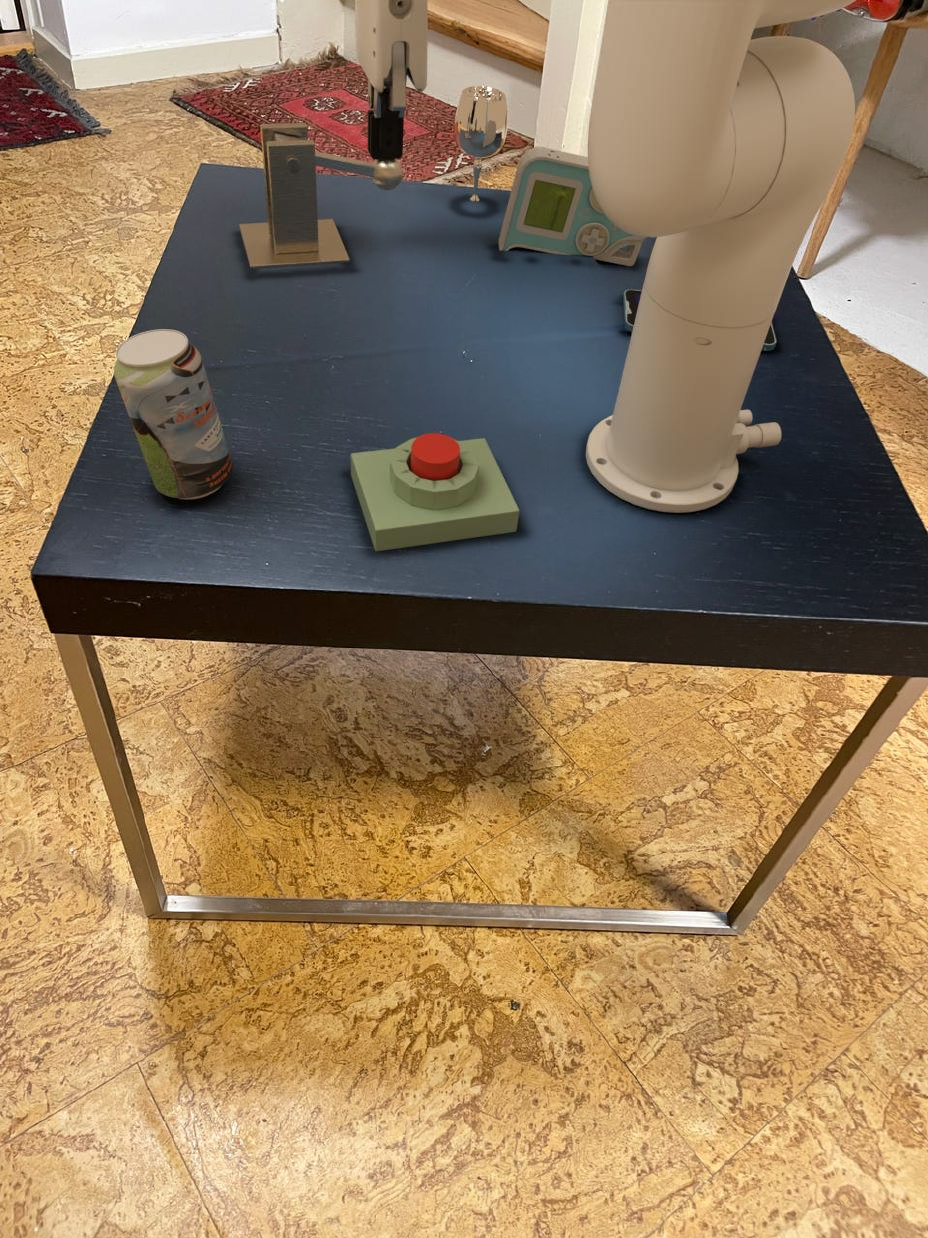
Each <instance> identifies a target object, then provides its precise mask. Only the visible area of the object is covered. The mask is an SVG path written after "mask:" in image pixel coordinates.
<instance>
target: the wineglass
mask: <svg viewBox="0 0 928 1238" xmlns="http://www.w3.org/2000/svg"><path fill="white" fill-rule="evenodd" d="M507 105H508V104H507V97H506V94H505V93H504V92H503V91H502V90H500V89H498V88H496V87H490V86H484V85H475V86H474V85H473V86H468V87H466V88H463V90H462V91H461V94H460V97H459V100H458V104H457V107H456V112H455V117H454V125H453V133H454V140H455V143H456V146H458V148H459V149H460V150H461V152H463V153H464V154H466V155H467V156H469V157H471V158H475V159H474V161H473V164H472V168H473V169H472V170H473V177H474V178H473V188H472V189H473V190H472V195H471V196H470V197H469V200H470V201H472V202H479V201H480V198H479V195H478V188H479V179H480V176H481V172H482V169H483V162H482V160H481V159H487V158H490V157H493V156H494V155H497V154H498V153H499V152H500V151H501V150H502V149H503V147H504V145H505V143H506V139H507V134H508V127H509V121H508V120H509V119H508V117H509V116H508V106H507Z"/></svg>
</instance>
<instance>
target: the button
mask: <svg viewBox="0 0 928 1238" xmlns="http://www.w3.org/2000/svg"><path fill="white" fill-rule="evenodd" d="M417 437H418V438H417ZM417 437H415V438H416V439H415V440H414V441H413V443H412V446H411V469H412V471H413V473H414V474H415V475H416V476H418V477H419V478H422V479H427V480H432V481H439V480H447V479H451V478H452V477H454V476H455V475H456V473H457V472H458V467H459V456H460V447H459V445H458V443H457V442H456V441H455V440H456V439H454V438H453V437H451V436H449V435H447V434H443V433H437V432H436V433H435V432H432V433H431V432H430V433H425V434H422V435H420V436H417Z"/></svg>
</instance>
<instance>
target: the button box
mask: <svg viewBox="0 0 928 1238" xmlns="http://www.w3.org/2000/svg"><path fill="white" fill-rule="evenodd" d="M418 437H419V436H417V437H412V438H409V439H408V440H407V441H405V442H403V443H401V444H399V445H397V446H396V447H395V448H388V449H387V448H386V449H377V450H370V451H369V450H368V451H361V452H352V453H350V476H351V480H352V483H353V486H354V489H355V492H356V495H357V499H358V502H359V504H360V507H361V511H362V515H363V517H364V520H365V523H366V527H367V529H368V532H369V537H370V539H371V542H372V545H373V548H374V551H375V552H382V551H390V550H397V549H404V548H410V547H418V546H424V545H425V546H426V545H432V544H438V543H444V542H445V543H446V542H452V541H459V540H467V539H473V538H481V537H488V536H489V537H490V536H495V535H503V534H509V533H515V532H517V530H518V523H519V518H520V509H519V507H518V504H517V502H516V500H515V498H514V496H513V494H512V492H511V490H510V488H509V485H508V484H507V481H506V479H505V476H503V473H502V471H501V469H500V467H499V464H498V462H497V460H496V459H495V456H494V454H493V452H492V450H491V448H490V446H489V444H488V442H487V440H486V438H485V437H481V438H474V439H465V440H457V439H454V440H455V441H456V442H457V443H458V445H459V447H460V456H459V467H458V472H457V473H456V475H455V476H454V477H452V478H451V479H447V480H439V481H432V480H427V479H422V478H419V477H418V476H416V475H415V474H414V473H413V471H412V469H411V446H412V443H413V441H414V440H415V439H416V438H418Z"/></svg>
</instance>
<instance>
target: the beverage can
mask: <svg viewBox="0 0 928 1238" xmlns="http://www.w3.org/2000/svg"><path fill="white" fill-rule="evenodd" d="M115 357H116V361H115V364H114V367H113V376H114V380H115V382H116V384H117V387H118V390H119V392H120V395H121V398H122V401H123V403H124V406H125V409H126V412H127V414H128V417H129V420H130V422H131V425H132V427H133V430H134V434H135V435H136V439H137V441H138V444H139V447H140V450H141V452H142V455H143V458H144V461H145V463H146V467H147V469H148V472H149V475H150V477H151V481H152V483H153V485H154V488H155V489H156V490H157V492H159V493H160V494H162V495H164V496H166V497H170V498H174V499H179V500H196V499H202V498H204V497H205V498H206V497H207V496H210V495H212V494H213V493H215V492H216V491H218V490H219V489H220V488H221V487H222V486H223V485H224V484H225V483H226V482H227V481H228V480H229V479H230V477H231V476H232V474H233V471H234V470H233V469H234V465H233V461H232V457H231V454H230V451H229V447H228V444H227V439H226V436H225V433H224V430H223V426H222V423H221V420H220V419H221V418H220V416H219V412H218V409H217V405H216V402H215V399H214V395H213V392H212V388H211V385H210V381H209V378H208V374H207V370H206V368H205V364H204V361H203V357H202V354H201V352H200V351H199V349H197V347H196V346H194V344H192V343H191V342H190V341H189V339H188V337H187V335H186V334H184V333H183V332H182V331H178V330H176V329H168V328H159V329H151V330H147V331H143V332H139V333H137V334H134V335H132V336H130V337H128V338H127V339H125V340H124V341H122V342H121V343H120V344H119V345H118V346H117V348H116V350H115Z"/></svg>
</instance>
